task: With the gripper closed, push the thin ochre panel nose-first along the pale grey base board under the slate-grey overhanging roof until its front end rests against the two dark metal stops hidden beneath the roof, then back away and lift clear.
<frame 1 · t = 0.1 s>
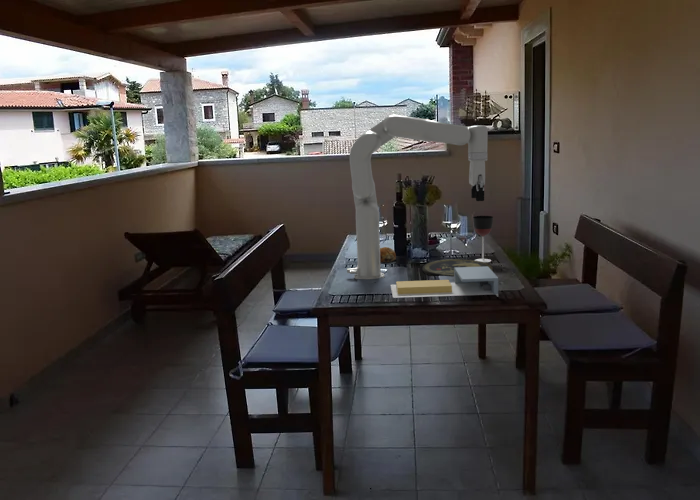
hand: (477, 199, 246), 31 cm above the table, tool pointing down, fingers open, 9 cm apart
wineglass: (482, 260, 276), on the table
overhang dock: (442, 291, 229), on the table
decorative plate: (457, 271, 261), on the table
bread roll: (385, 260, 285), on the table
ochre panel: (423, 289, 229), point 1 cm above the table, touching overhang dock
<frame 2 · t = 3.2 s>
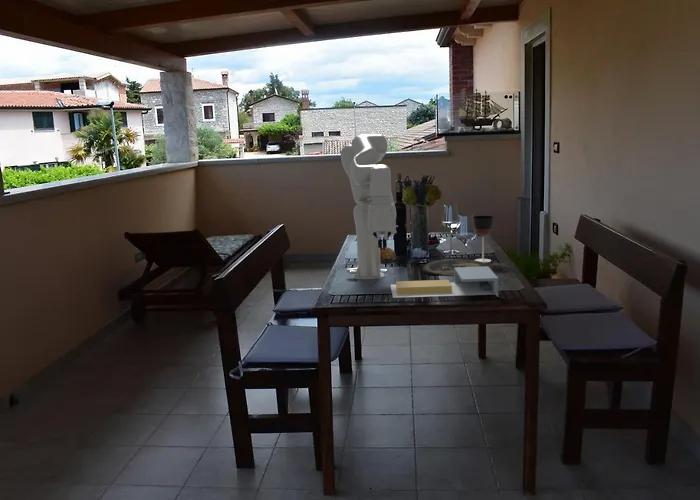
hand: (382, 249, 226), 17 cm above the table, tool pointing down, fingers closed
nothing on the table moved.
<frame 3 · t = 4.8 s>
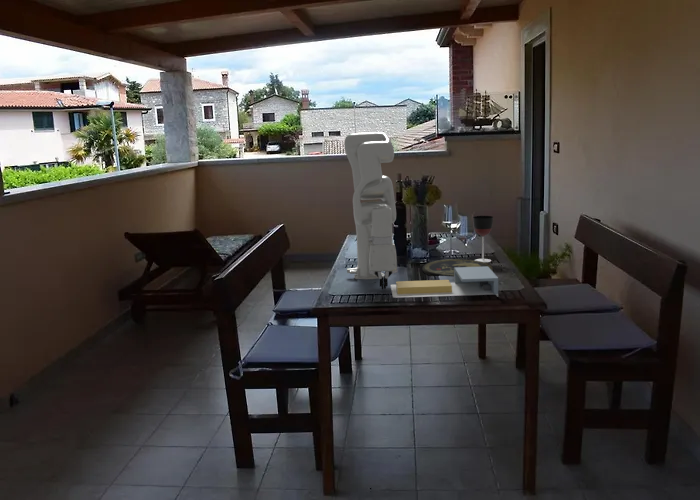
hand: (383, 288, 229), 2 cm above the table, tool pointing down, fingers closed
nothing on the table moved.
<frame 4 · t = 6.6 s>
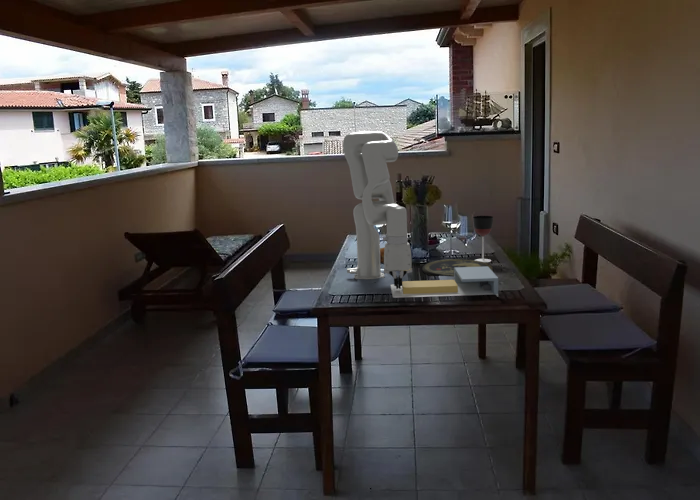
hand: (398, 287, 229), 2 cm above the table, tool pointing down, fingers closed
ochre panel: (429, 289, 229), point 1 cm above the table, touching overhang dock
everything else where it was.
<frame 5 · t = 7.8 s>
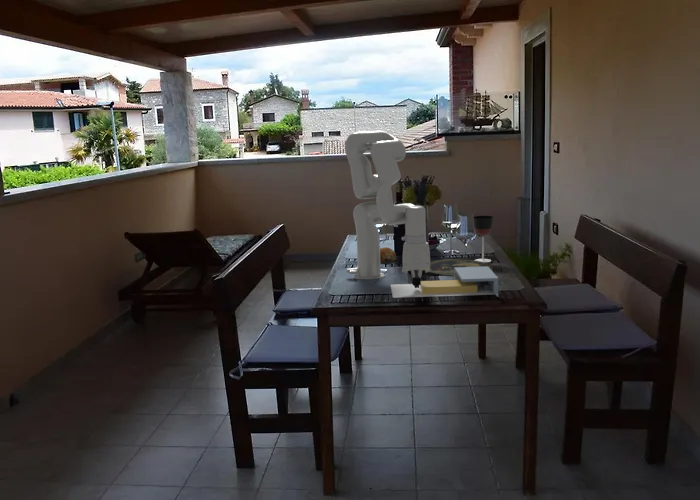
hand: (416, 287, 229), 2 cm above the table, tool pointing down, fingers closed
ochre panel: (448, 289, 228), point 1 cm above the table
everything else where it was.
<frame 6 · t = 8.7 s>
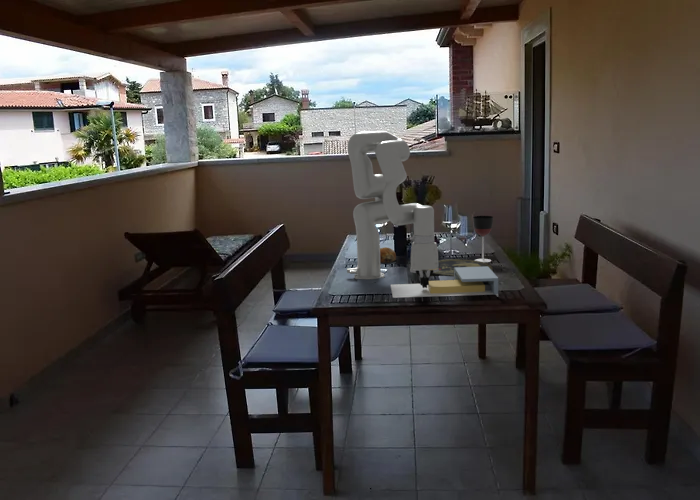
hand: (424, 286, 229), 2 cm above the table, tool pointing down, fingers closed
ochre panel: (455, 289, 228), point 1 cm above the table, touching gripper, overhang dock
everything else where it was.
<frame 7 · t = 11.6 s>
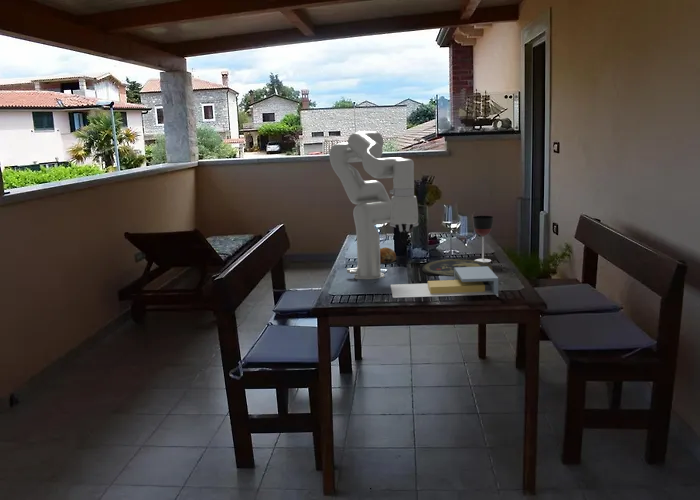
hand: (404, 241, 227), 19 cm above the table, tool pointing down, fingers closed
ochre panel: (455, 289, 228), point 1 cm above the table, touching overhang dock
everything else where it was.
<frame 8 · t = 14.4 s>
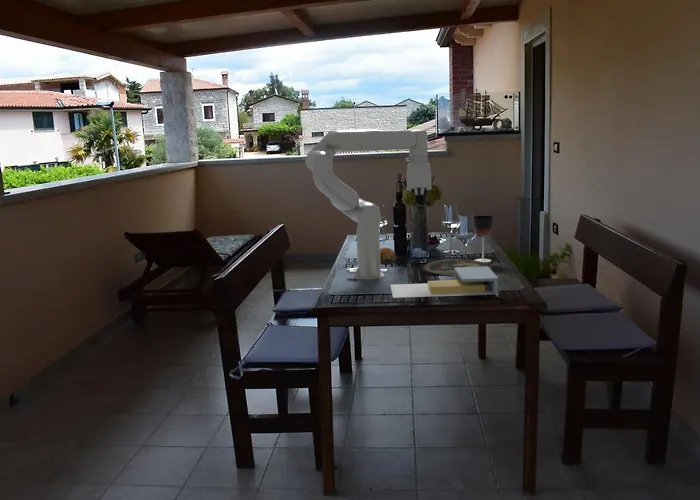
hand: (419, 204, 255), 29 cm above the table, tool pointing down, fingers closed
at the end: ochre panel 0.7 cm from the target spot on the overhang dock, point 1.0 cm above the overhang dock's base; ochre panel tilted 0°; the gripper is holding nothing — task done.
